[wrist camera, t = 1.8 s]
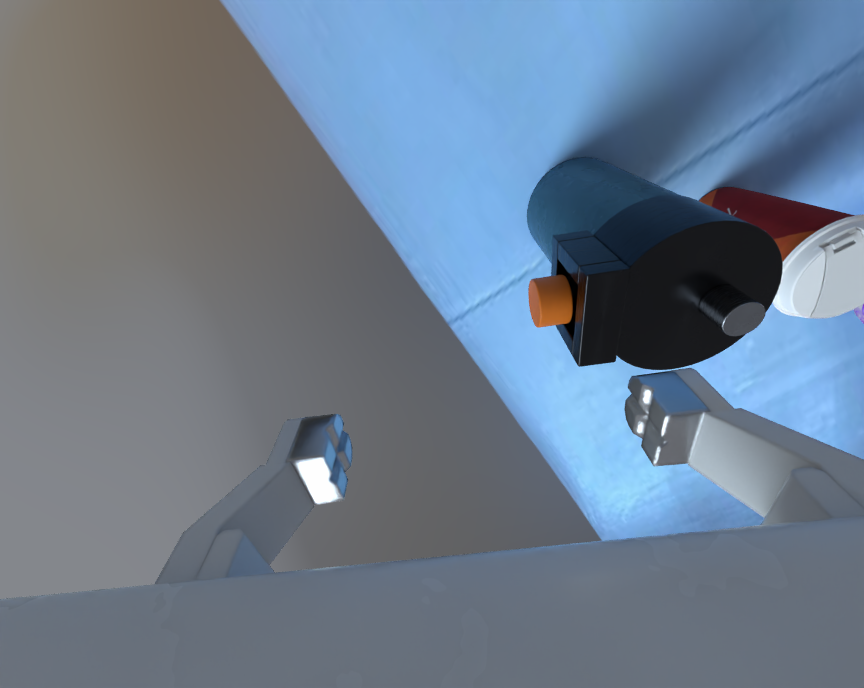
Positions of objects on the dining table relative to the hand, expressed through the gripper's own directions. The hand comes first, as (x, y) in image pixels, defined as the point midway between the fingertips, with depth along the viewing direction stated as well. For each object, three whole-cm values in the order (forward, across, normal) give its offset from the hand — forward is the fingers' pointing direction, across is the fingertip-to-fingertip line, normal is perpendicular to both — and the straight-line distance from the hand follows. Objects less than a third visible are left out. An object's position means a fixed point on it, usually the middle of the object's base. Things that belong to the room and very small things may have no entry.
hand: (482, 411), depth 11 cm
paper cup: (+30, -26, +7) cm, 40 cm away
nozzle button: (+14, -5, +4) cm, 16 cm away
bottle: (+29, -12, +4) cm, 32 cm away
